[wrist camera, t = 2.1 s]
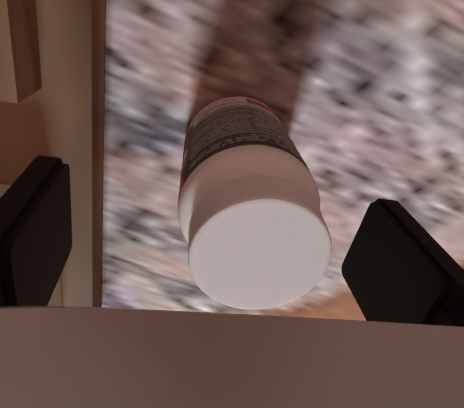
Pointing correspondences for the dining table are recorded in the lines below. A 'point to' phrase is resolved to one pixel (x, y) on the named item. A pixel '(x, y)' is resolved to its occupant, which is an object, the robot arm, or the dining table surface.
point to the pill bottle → (249, 208)
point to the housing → (58, 117)
